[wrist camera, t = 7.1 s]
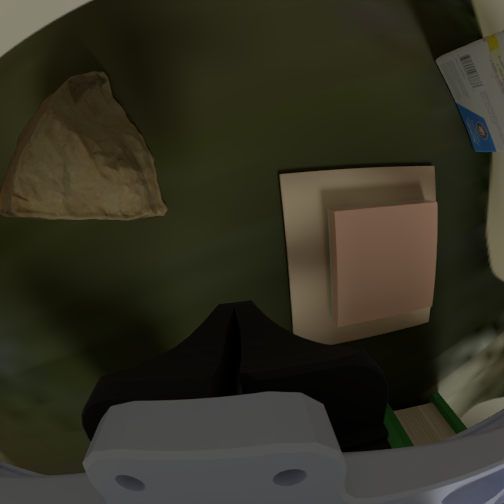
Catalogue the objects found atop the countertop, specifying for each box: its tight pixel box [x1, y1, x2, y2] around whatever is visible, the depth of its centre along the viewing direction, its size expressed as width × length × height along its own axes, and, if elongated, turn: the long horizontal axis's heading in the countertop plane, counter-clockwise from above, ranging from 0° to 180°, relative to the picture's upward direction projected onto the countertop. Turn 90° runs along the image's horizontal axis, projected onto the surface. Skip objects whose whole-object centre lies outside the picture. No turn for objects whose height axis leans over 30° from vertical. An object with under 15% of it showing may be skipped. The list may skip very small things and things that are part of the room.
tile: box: [327, 200, 437, 327], centre depth 21 cm, size 8×2×8 cm
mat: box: [279, 166, 436, 345], centre depth 22 cm, size 13×12×1 cm
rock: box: [0, 71, 167, 221], centre depth 16 cm, size 11×9×10 cm
